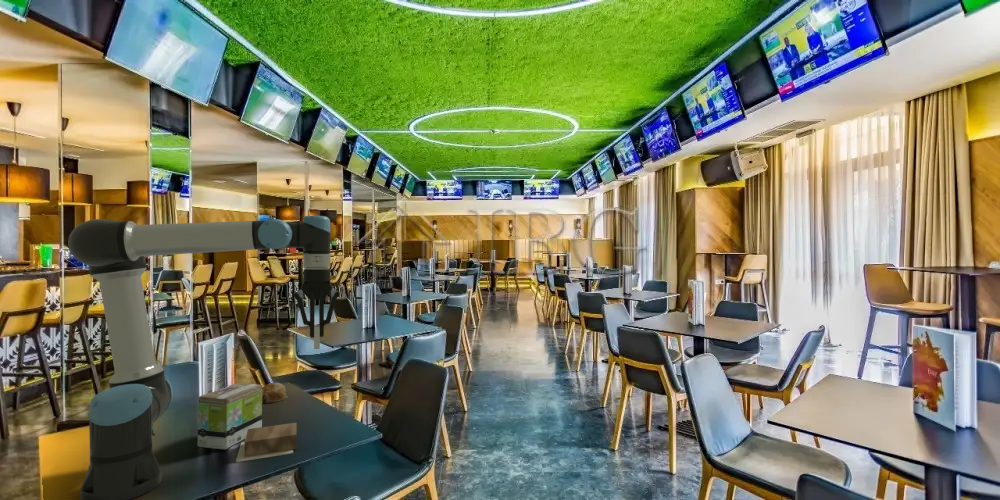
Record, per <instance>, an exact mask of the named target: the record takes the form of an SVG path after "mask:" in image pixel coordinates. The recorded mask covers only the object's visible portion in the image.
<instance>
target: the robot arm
mask: <svg viewBox="0 0 1000 500" xmlns="http://www.w3.org/2000/svg"><path fill="white" fill-rule="evenodd" d="M331 233H332V232H331V219H330V218H329V217H328V216H325V215H305V216H304V217H303V220H302V221H300V222H289V221H287V222H286V221H284V220H281V219H278V218H270V219H267V220H263V219H262V220H261V219H260V220H239V221H238V220H237V221H234V220H233V221H213V222H211V221H209V222H208V221H207V222H188V223H187V222H183V223H180V222H179V223H162V224H161V223H158V224H137V223H136V222H134V221H133V220H127V221H125V220H111V219H103V218H102V219H101V218H96V219H90V220H86V221H83V222H81V223H79V224H78V225H77V226H75V227H74V228H73V230H71V233H70V234H69V236H68V240H67V242H68V243H67V244H68V249H69V252H70V253H71V255H72V256H73V257H74V259H76V261H78V262H80V263H81V264H84V265H86V266H88V270H89V276H90V277H91V278H93V279H94V280H96V281H97V282H99V286H100V293H101V298H102V299H101V300H102V304H103V312H104V315H105V321H106V323H105V324H106V328H107V334H108V339H109V340H108V341H109V345H110V350H111V357H112V361H113V362H112V364H113V368H114V374H113V375H112V376H111V378H109V380H108V385H109V389H104V390H102V391H101V392H98V393H97V394H95V395H94V396H93V397H92V399H90V403H89V409H88V413H87V414H88V415H87V416H88V419H89V421H88V423H89V466H88V469H87V471H86V474H85V477H84V479H83V482H82V484H81V487H80V494H79V497H80V498H79V499H80V500H133V499H136V498H138V497H140V496H143V495H144V494H147V493H149V492H150V491H152V490H154V489H155V488H157V487H158V486H159V485H160V483H161V481H162V470H161V467H160V464H159V463H158V460H157V458H156V456H155V453H154V451H153V436H152V424H153V425H154V424H155V423H156V421H158V419H159V418H161V417H162V416H163V415H164V414H165V412H166V411H167V410H168V409H169V407H170V405H171V403H172V400H173V396H174V394H173V393H174V391H173V387H172V384H171V383H170V381H169V380H168V379H166V376H165V371H164V370H165V369H164V368H163V366H160V365H158V364H157V363H156V357H155V353H154V347H153V341H152V333H151V330H150V328H151V327H150V323H149V318H148V317H149V316H148V312H147V311H148V310H147V306H146V300H145V293H144V287H143V281H142V276H143V275H144V273H145V272H146V270H147V268H148V267H147V263H146V258H145V257H149V256H150V257H153V256H154V257H155V256H169V255H170V256H171V255H172V256H173V255H183V254H184V255H186V254H189V255H190V254H204V253H219V252H220V253H221V252H235V251H236V252H238V251H239V252H240V251H253V250H257V251H258V250H278V249H303V251H302V252H303V257H302V262H303V265H302V266H303V268H304V269H303V270H302V273H303V274H302V275H303V277H302V285H301V287H300V288H301V289H299V290H297V291H295V292H294V293H293V297H294V298H295V299H296V301H297V304H298V308H299V312H300V315H301V320H302V323H303V325H304V326H308V327H309V337H310V338H311V339H312V338H313V349H314V350H320V348H321V346H320V345H321V341H320V340H321V339H320V338H324V337H325V334H324V333H325V325H329V324H330V323H331V320H332V316H333V314H334V309H335V305H336V302H337V299H338V297H339V296H340V291H338V290H336V289H334V288H333V286H332V284H331V270H330V267H331ZM303 294H304V295H305V296H306V298H307V299H308V300H309V320H308V316H307V313H306V310H305V306H304V303H303V296H304V295H303ZM329 294H330V297H331V299H330V302H329V306H328V310H327V313H326V318H325V314H324V313H325V299H326V298H327V297H328V296H329ZM316 300H318V305H319V306H318V310H319V311H318V317H319V318H318V320H319V321H318V323H319V324H318V325H315V309H316V307H315V304H316V302H315V301H316Z"/></svg>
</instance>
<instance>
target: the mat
mask: <svg viewBox="0 0 1000 500" xmlns="http://www.w3.org/2000/svg"><path fill="white" fill-rule="evenodd" d="M240 442H241V443H240V446H239V449H238V452H237V455H236V458H235V459H236V460H235V462H236V463H240V462H245V461H247V462H248V461H253V460H259V459H267V458H274V457H279V456H284V455H291V454H294V449H292V450H285V451H279V452H272V453H266V454H259V455H253V456H246V457H245V447H244V442H245V441H240Z"/></svg>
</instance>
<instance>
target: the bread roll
mask: <svg viewBox="0 0 1000 500" xmlns="http://www.w3.org/2000/svg"><path fill="white" fill-rule="evenodd" d="M286 399H288V394H287V389H286V386H285V385H283V384H282V383H280V382H270V383H268V384H265V385H264V386H262V404H271V403H273V404H274V403H277V402H278V403H279V402H282V401H284V400H286Z"/></svg>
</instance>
